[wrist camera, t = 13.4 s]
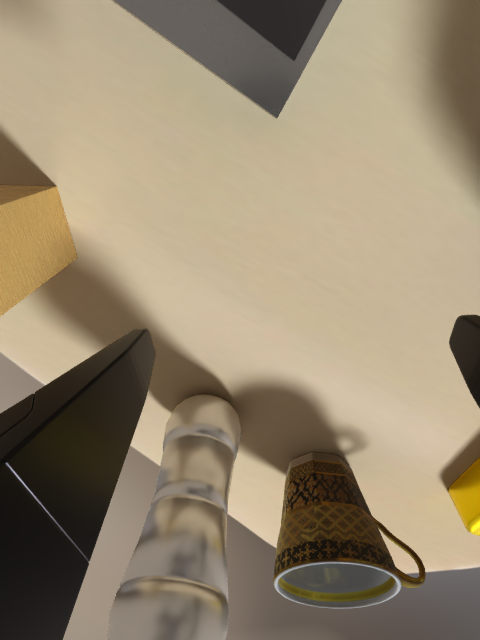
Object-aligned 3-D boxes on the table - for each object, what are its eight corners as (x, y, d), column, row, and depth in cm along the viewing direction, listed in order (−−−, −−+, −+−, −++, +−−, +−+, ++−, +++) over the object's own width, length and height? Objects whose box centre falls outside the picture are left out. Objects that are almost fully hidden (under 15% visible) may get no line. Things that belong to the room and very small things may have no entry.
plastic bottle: (158, 404, 29) (18, 788, 13) (212, 373, 27) (126, 804, 10) (204, 440, 32) (139, 799, 15) (257, 414, 29) (249, 814, 12)
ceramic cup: (264, 489, 36) (265, 601, 28) (279, 435, 31) (285, 555, 22) (376, 501, 36) (410, 617, 28) (410, 450, 31) (465, 575, 22)
